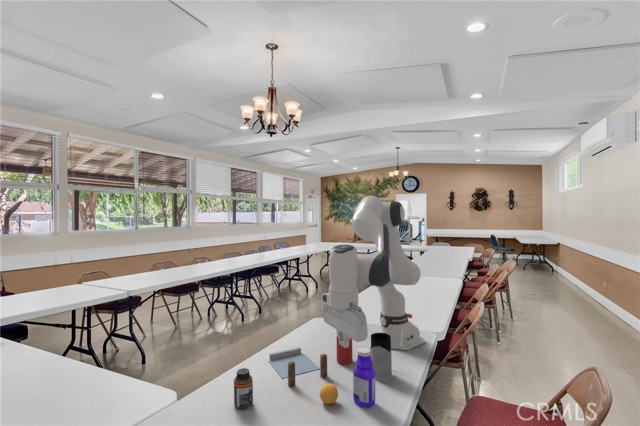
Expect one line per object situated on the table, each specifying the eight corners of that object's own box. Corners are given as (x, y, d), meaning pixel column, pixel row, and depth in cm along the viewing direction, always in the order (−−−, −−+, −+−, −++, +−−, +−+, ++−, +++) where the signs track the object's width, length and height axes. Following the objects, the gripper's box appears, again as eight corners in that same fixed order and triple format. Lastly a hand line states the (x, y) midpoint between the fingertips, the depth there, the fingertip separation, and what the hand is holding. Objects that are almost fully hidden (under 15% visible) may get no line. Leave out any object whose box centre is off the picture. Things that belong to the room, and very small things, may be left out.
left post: (293, 382, 121) (293, 360, 121) (296, 385, 119) (296, 363, 119) (287, 384, 120) (286, 362, 120) (289, 387, 118) (289, 365, 117)
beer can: (351, 365, 134) (351, 336, 134) (335, 364, 135) (335, 335, 135) (353, 358, 140) (352, 330, 140) (337, 357, 142) (337, 329, 141)
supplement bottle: (235, 400, 110) (235, 366, 110) (254, 399, 110) (253, 365, 110) (232, 411, 104) (232, 375, 104) (251, 410, 105) (251, 374, 104)
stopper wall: (299, 352, 147) (299, 347, 147) (301, 353, 145) (301, 348, 145) (269, 359, 140) (269, 353, 140) (270, 360, 139) (270, 354, 139)
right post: (325, 374, 127) (325, 353, 127) (328, 377, 125) (328, 356, 125) (319, 375, 126) (318, 354, 126) (322, 378, 123) (322, 357, 123)
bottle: (378, 403, 107) (378, 350, 107) (369, 411, 103) (368, 355, 103) (360, 395, 112) (359, 344, 112) (350, 402, 108) (349, 349, 108)
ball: (332, 395, 112) (332, 378, 112) (341, 405, 107) (341, 386, 107) (316, 400, 109) (316, 382, 109) (325, 410, 104) (324, 391, 104)
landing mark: (303, 353, 145) (303, 353, 145) (320, 368, 131) (320, 368, 131) (268, 361, 138) (268, 361, 138) (282, 378, 124) (282, 378, 124)
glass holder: (367, 379, 123) (366, 338, 123) (375, 362, 136) (374, 326, 136) (390, 383, 120) (390, 342, 120) (396, 366, 133) (396, 328, 133)
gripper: (372, 307, 91) (373, 357, 91) (335, 291, 109) (336, 333, 109) (353, 310, 88) (354, 362, 88) (318, 293, 106) (319, 336, 106)
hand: (343, 346), depth 99 cm, fingers closed
